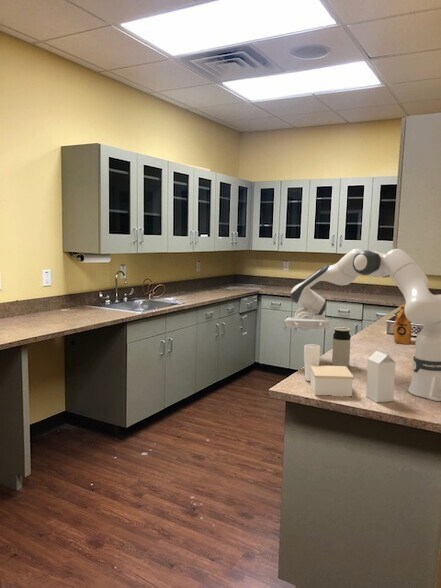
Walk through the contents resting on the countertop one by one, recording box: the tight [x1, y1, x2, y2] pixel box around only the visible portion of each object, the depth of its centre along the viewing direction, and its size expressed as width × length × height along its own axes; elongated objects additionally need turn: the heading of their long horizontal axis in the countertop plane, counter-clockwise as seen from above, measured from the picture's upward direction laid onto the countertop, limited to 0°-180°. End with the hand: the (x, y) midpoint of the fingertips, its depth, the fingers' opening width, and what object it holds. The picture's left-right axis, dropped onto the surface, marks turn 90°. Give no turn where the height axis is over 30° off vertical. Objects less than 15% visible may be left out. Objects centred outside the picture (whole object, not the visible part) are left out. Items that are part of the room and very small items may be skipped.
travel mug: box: [331, 326, 351, 368], centre depth 221 cm, size 8×8×18 cm
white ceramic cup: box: [303, 343, 321, 382], centre depth 197 cm, size 7×7×15 cm
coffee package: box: [393, 303, 412, 345], centre depth 273 cm, size 10×12×22 cm
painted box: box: [309, 364, 355, 397], centre depth 185 cm, size 15×15×8 cm
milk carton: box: [365, 347, 396, 404], centre depth 175 cm, size 7×7×19 cm
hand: (308, 326), depth 209 cm, fingers open, 8 cm apart
